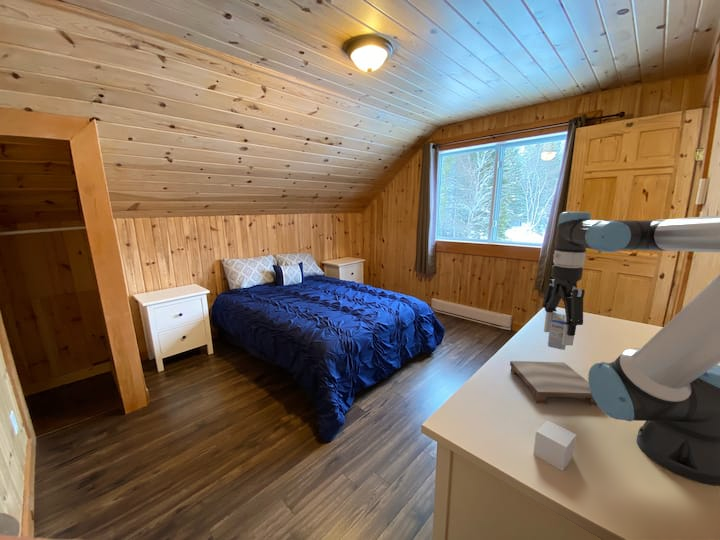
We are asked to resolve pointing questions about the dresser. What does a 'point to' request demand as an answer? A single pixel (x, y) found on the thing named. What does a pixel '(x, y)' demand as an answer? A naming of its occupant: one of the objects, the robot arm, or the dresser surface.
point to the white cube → (554, 444)
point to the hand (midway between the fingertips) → (557, 337)
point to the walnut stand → (552, 380)
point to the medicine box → (557, 331)
